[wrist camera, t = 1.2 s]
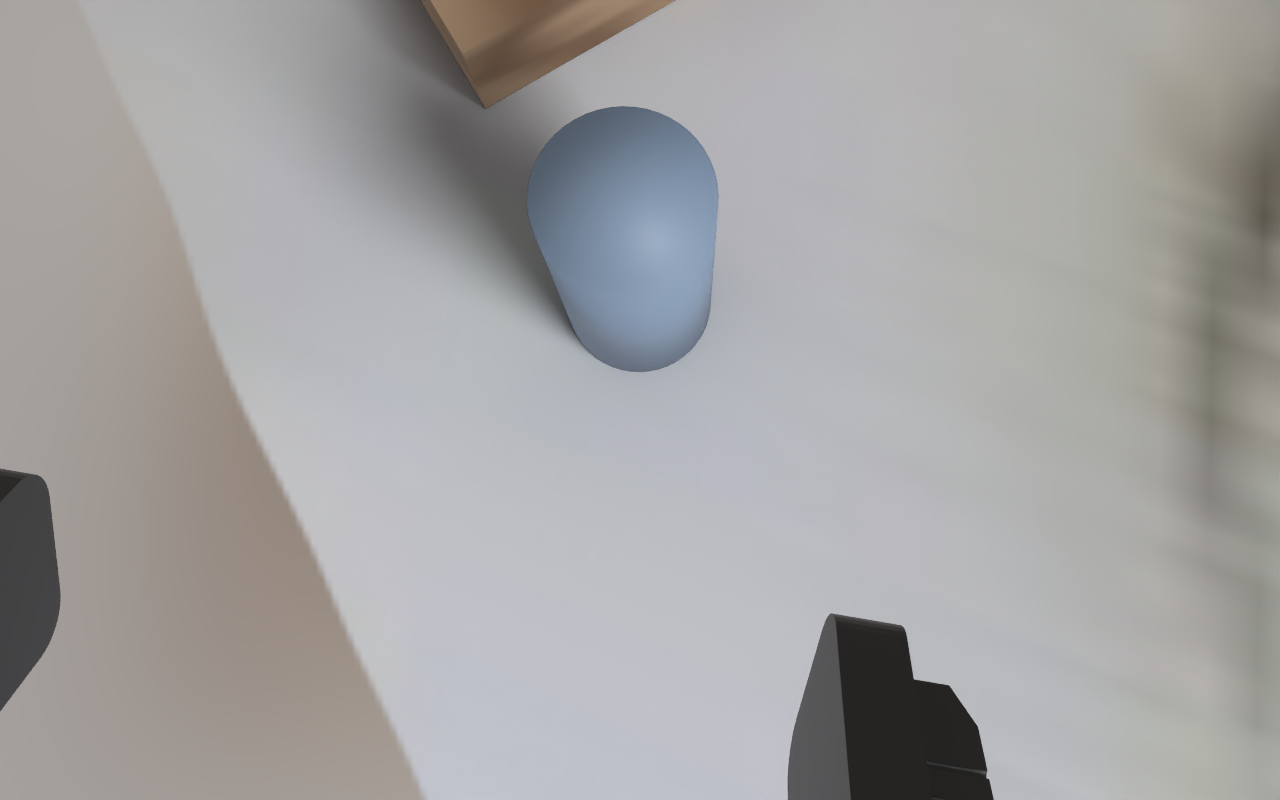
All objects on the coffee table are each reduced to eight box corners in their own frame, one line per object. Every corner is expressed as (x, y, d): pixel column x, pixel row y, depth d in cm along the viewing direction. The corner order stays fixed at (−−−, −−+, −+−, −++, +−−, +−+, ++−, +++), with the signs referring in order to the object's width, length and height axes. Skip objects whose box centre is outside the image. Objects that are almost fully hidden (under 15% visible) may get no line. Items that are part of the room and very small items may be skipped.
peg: (664, 208, 38) (655, 73, 29) (737, 325, 38) (754, 228, 28) (542, 278, 38) (492, 166, 28) (613, 398, 38) (587, 325, 28)
